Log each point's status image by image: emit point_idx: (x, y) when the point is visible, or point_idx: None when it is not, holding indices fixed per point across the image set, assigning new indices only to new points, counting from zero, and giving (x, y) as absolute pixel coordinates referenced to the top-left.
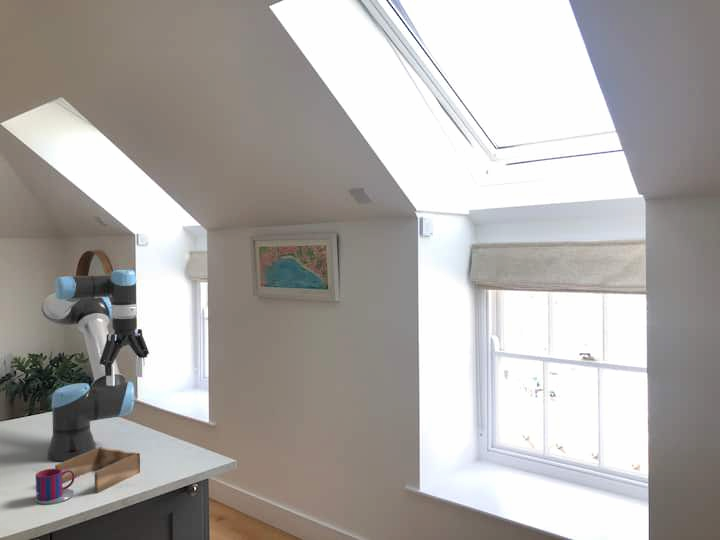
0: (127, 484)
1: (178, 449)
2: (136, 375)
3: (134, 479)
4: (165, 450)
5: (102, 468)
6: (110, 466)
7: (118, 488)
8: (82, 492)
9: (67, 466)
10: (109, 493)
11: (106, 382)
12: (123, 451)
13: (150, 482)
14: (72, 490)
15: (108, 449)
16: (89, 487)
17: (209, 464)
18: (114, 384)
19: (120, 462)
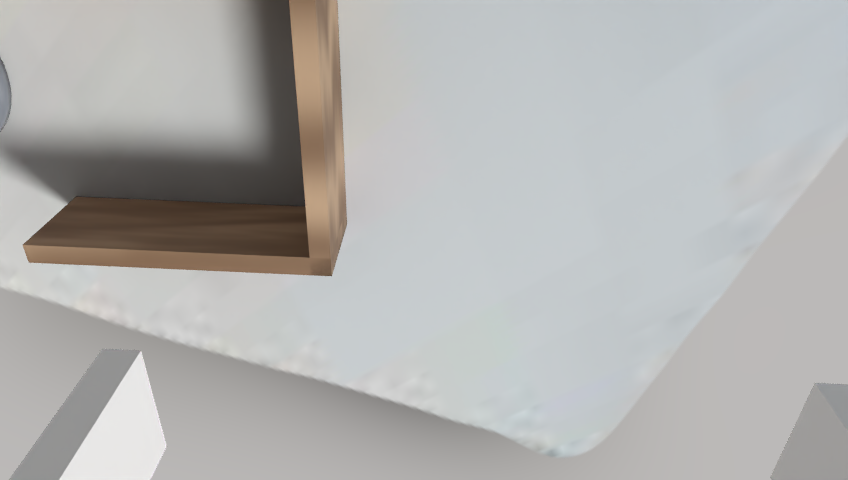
0: None
1: (698, 205)
2: (820, 408)
3: None
4: (670, 151)
5: (76, 248)
6: (118, 263)
7: None
8: (41, 147)
9: None
10: None
11: (80, 382)
12: (318, 179)
13: (275, 324)
14: (3, 111)
15: (304, 68)
16: (95, 136)
17: (531, 411)
18: (155, 459)
19: (187, 268)
